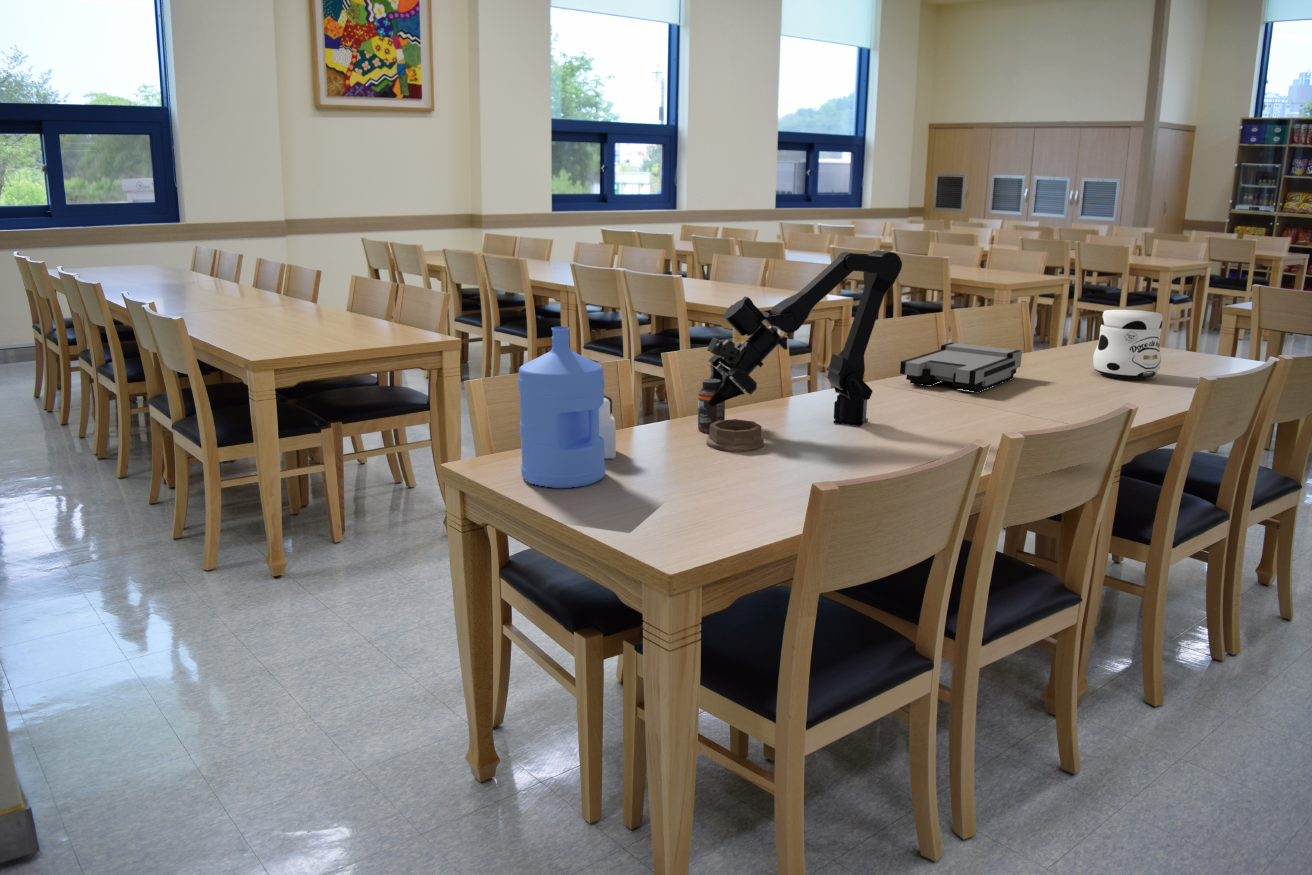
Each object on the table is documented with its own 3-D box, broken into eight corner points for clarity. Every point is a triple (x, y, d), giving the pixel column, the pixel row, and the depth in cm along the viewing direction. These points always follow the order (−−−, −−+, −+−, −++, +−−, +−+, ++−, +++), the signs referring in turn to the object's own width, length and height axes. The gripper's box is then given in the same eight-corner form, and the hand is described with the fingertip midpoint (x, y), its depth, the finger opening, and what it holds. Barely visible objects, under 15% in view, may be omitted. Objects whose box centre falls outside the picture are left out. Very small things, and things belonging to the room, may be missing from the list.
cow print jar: (1154, 384, 265) (1163, 319, 260) (1086, 377, 274) (1093, 314, 269) (1161, 374, 279) (1170, 312, 274) (1097, 368, 288) (1104, 307, 283)
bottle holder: (771, 440, 207) (772, 422, 206) (751, 454, 196) (751, 435, 195) (719, 433, 212) (720, 416, 211) (697, 447, 202) (697, 428, 201)
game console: (898, 387, 262) (901, 357, 260) (948, 370, 286) (951, 342, 284) (973, 398, 249) (976, 366, 247) (1019, 379, 273) (1022, 350, 271)
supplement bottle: (727, 428, 217) (728, 378, 214) (720, 434, 211) (721, 383, 208) (701, 426, 219) (702, 376, 216) (694, 432, 213) (695, 381, 210)
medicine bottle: (579, 450, 199) (578, 393, 196) (614, 449, 200) (614, 392, 197) (579, 459, 192) (578, 400, 189) (615, 459, 193) (615, 400, 190)
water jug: (505, 484, 177) (500, 331, 170) (545, 461, 191) (541, 319, 184) (583, 494, 172) (581, 337, 164) (618, 470, 186) (617, 324, 178)
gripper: (718, 319, 219) (670, 369, 219) (743, 331, 201) (691, 386, 202) (750, 352, 222) (703, 401, 223) (778, 367, 205) (727, 420, 205)
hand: (705, 401), depth 213 cm, fingers closed on supplement bottle, 6 cm apart
